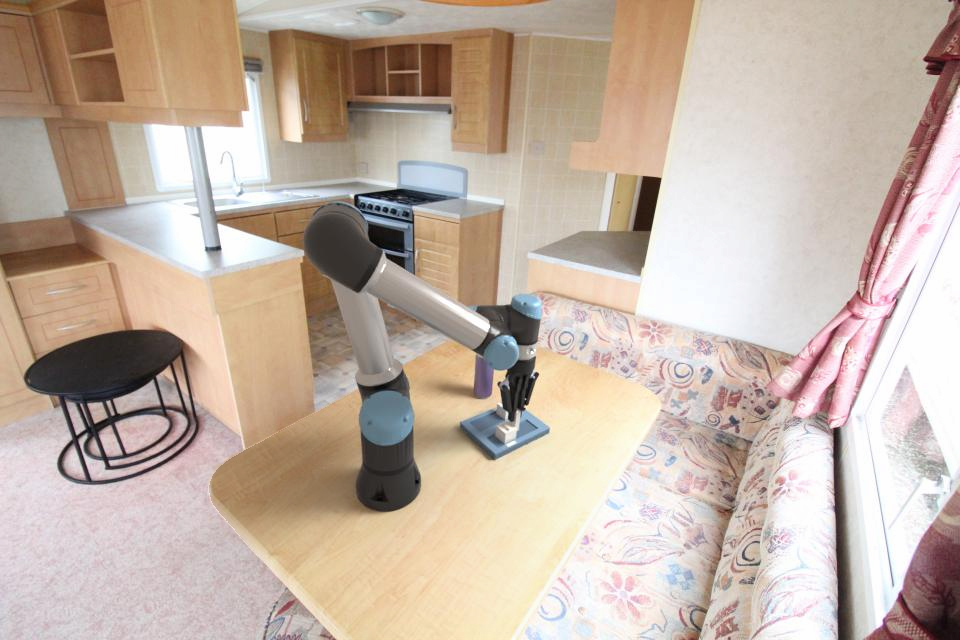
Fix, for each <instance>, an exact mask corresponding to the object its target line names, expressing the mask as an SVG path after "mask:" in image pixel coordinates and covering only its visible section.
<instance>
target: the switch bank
mask: <svg viewBox="0 0 960 640" xmlns="http://www.w3.org/2000/svg"><path fill="white" fill-rule="evenodd" d="M496 411H497V406H496V407H494V408H493V407H492V408H491V409H488V410H486V411H483V412H481V413H479V414H476V415H474V416H472V417H469V418H467V419H464V420H462V421H460V422H459V428H460V430H462V432H464V433H465V434H466V435H467V436H469V437H470V439H472V440H473V441H474V442H475V444H477V445H478V446H479V447H480V448H481V449H483V451H484V452H486V453H487V454H488V455H489V456H490V457H491V458H492V459H494V461H496V460H498V459H500V458H502V457H504V456H506V455H508V454H511V453H512V452H515V451H516V450H519V449H520V448H522V447H524V446H526V445H528V444H530V443H532V442H534V441H536V440H538V439H540V438H543V437H544V436H546V435H549V434H550V430H551V427H550V426H549V425H547V424H546V423H545V422H543V421H542V420H541V419H539V418H538V417H536V416H535V415H534V414H532V413H531V412H530V411H528V410H527V409H526V410H525V411H522V416H521V418H520V423H519V431H517V432H516V439H514V440H512V441H510V442H508V443H506V444H504V443H503V442H501V441H500V440H499V439H498V438H497V437H496V436H495V434H496V426H497V425H499V424H502V423H503V422H506V421H508V422H509V420H508V419H507V420H504V419H503V418H502V417H500V416H499V415H498V414H496Z"/></svg>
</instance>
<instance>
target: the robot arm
mask: <svg viewBox="0 0 960 640" xmlns="http://www.w3.org/2000/svg"><path fill="white" fill-rule="evenodd" d="M367 221H368V220H367V219H366V217H365V215H364V214H363V213H362V211H361V210H360V209H359V208H357V206H355V205H353V204H352V203H349V202H346V201H341V200H338V201H337V200H335V201H334V200H333V201H330V202H326V203H325V204H323V205H321V206H319V207H318V208H317V209H316V210H314V212H313V214H312V215H311V217H310V220H309V222H308V224H307V225H306V226H305V229H304V231H303V235H302V248H303V251H304V254H305V256H306V258H307V260H308V261H309V263H310V264H311V265H312V266H313V267H314V268H315V269H317V271H319V272H320V273H321V275H322V276H323V277H325V278H327V279H329V280H330V281H331V284H332V287H333V291H334V294H335V297H336V299H337V300H336V302H337V303H338V304H337V305H338V307H339V310H340V313H341V316H342V320H343V322H344V325H345V328H346V332H347V335H348V339H349V342H350V345H351V348H352V351H353V354H354V357H355V361H356V365H357V367H358V370H357V371H356V372H355V375H354V379H355V383H356V386H357V388H358V391H359V395H360V398H361V406H360V409H359V415H358V426H359V428H360V429H359V432H360V441H361V443H360V444H361V458H362V459H361V460H362V461H361V462H362V463H361V465H360V468H359V471H358V475H357V478H356V482H355V488H356V489H355V490H356V496H357V499H358V500H359V501H360V503H362V504H363V505H364V506H365V507H367V508H368V509H371V510H374V511H378V512H391V511H396V510H397V511H398V510H399V509H403V508H406V506H408V505H410V504H411V503H412V502H414V500H416V498H417V497H418V496H419V494H420V492H421V488H422V476H421V475H422V474H421V471H420V470H419V468H418V465H417V463H416V460H415V458H414V454H415V452H414V422H415V413H414V412H415V411H414V408H413V404H412V401H411V395H410V389H411V387H410V382H409V379H408V377H407V375H406V373H405V371H404V366H403V363H402V362H401V361H400V360H398V359H397V358H395V357H394V353H393V350H392V346H391V343H390V339H389V336H388V331H387V328H386V323H385V320H384V317H383V313H382V308H381V306H380V301H382V302H384V303H385V304H387V305H389V306H391V307H393V308H395V309H396V310H398V311H400V312H402V313H403V314H405V315H407V316H409V317H411V318H412V319H414V320H416V321H418V322H419V323H422V324H423V325H425V326H427V327H428V328H430V329H432V330H434V331H436V332H438V333H440V334H441V335H443V336H445V337H446V338H449V339H451V340H452V341H454V342H456V343H458V344H459V345H461V346H463V347H465V348H466V349H469V350H471V351H472V352H474V353H475V354H476V353H477V354H479V355H481V356H482V357H484V360H485V362H486V363H487V364H488V365H489V367H491V368H492V369H494V371H498V372H499V371H500V372H502V371H506V373H505V374H504V375H505V376H504V377H505V378H504V379H503V380H502V381H497V383H496V384H497V386H498V388H499V391H500V398H501V399H500V400H501V402H502V406H503V409H504V410H506V411H507V412H508V420H509V423H511V424H512V425H513V426H514V427H516V428H517V431H519V423H520V418H521V416H522V411H525V410H527V409H526V407H527V406H529V404H530V401H531V398H532V394H533V391H534V388H535V384H536V381H537V379H538V377H540V373H539V372H538V371H536V370H535V367H536V361H537V359H536V358H537V356H536V355H537V349H538V341H539V334H540V327H541V321H542V311H543V310H542V309H543V307H542V306H543V305H542V301H541V299H539V297H537V296H536V295H533V294H530V293H529V294H528V293H520V294H515V295H513V297H512V298H511V301H510V304H500V305H499V304H496V305H493V304H491V305H490V304H485V305H484V304H483V305H481V304H480V305H479V304H476V305H467V306H466V305H465V304H463V303H462V302H460V301H458V300H457V299H455V298H453V297H452V296H451V295H448V294H447V293H445V292H443V291H442V290H440V289H439V288H436V287H435V286H433V285H432V284H430V283H428V282H426V281H425V280H423V279H422V278H420V277H418V276H417V275H415V274H413V273H411V272H410V271H408V270H407V269H405V268H403V267H402V266H400V265H398V264H397V263H395V262H393V261H391V259H388V258H387V256H386V253H385V250H384V249H382V248H380V247H379V246H377V245H376V244H374V243H373V242H371V241H370V238H369V234H368V233H369V224H368V222H367ZM379 300H380V301H379ZM525 406H526V407H525Z"/></svg>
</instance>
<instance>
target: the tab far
mask: <svg viewBox="0 0 960 640" xmlns="http://www.w3.org/2000/svg"><path fill="white" fill-rule="evenodd" d="M496 407H497V411H496V414H498V415H499V416H500V417H502V418H503V419H504V420H507V419H508V412H507V411H506V410H504V409H503V406H502V401H500V402H497V403H496Z"/></svg>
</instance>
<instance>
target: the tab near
mask: <svg viewBox="0 0 960 640" xmlns="http://www.w3.org/2000/svg"><path fill="white" fill-rule="evenodd" d="M516 432H517V428H516V427H514V426H513V425H512V424H511V423H509V422H508V421H506V422H503V423H502V424H499V425H497V426H496V434H495V436H496V437H497V438H498V439H499V440H500V441H501V442H503V443H504V444H506V443H508V442H510V441H512V440H514V439H516Z"/></svg>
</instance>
